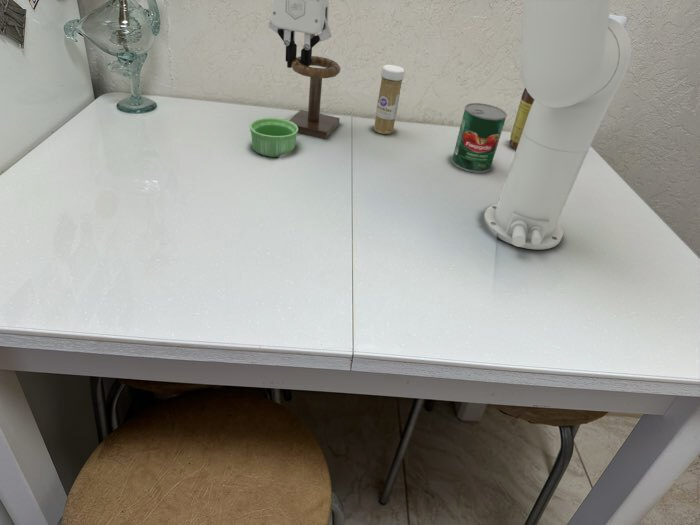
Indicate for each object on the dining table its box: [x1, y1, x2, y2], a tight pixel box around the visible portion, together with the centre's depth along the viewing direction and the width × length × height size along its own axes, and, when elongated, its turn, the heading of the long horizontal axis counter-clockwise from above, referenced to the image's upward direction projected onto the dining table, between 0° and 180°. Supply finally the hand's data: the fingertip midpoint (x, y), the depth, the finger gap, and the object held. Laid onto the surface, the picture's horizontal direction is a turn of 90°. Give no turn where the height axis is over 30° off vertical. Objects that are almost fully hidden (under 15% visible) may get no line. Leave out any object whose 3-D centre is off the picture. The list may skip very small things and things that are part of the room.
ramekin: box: [249, 117, 299, 158], centre depth 93 cm, size 9×9×4 cm
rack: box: [288, 77, 340, 140], centre depth 101 cm, size 9×9×10 cm
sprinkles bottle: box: [373, 64, 405, 135], centre depth 103 cm, size 5×5×14 cm
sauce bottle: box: [509, 87, 534, 150], centre depth 103 cm, size 6×6×20 cm
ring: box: [291, 55, 342, 79], centre depth 97 cm, size 10×10×2 cm
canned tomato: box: [451, 102, 508, 174], centre depth 95 cm, size 8×8×11 cm
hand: (298, 66), depth 98 cm, fingers closed on ring, 2 cm apart
